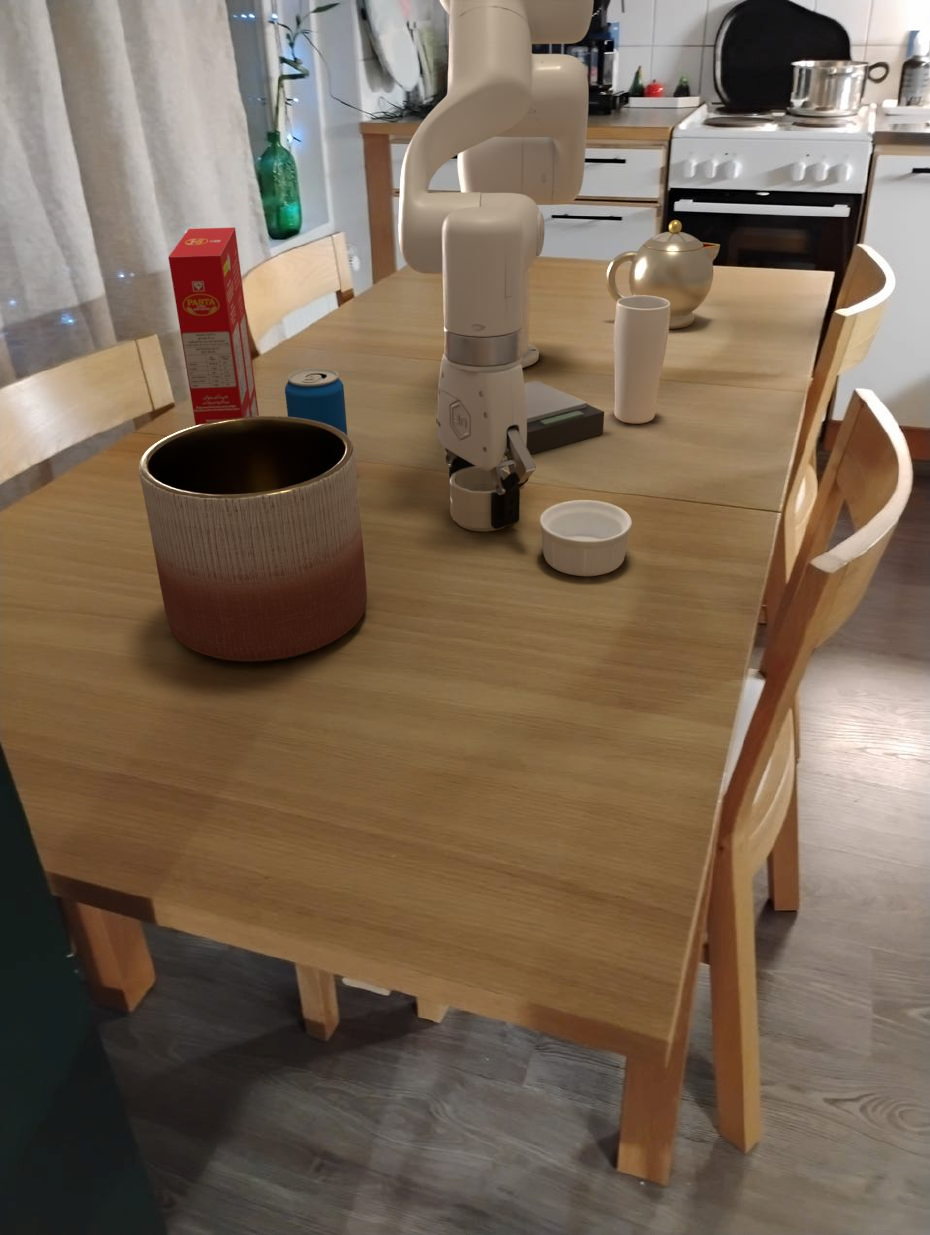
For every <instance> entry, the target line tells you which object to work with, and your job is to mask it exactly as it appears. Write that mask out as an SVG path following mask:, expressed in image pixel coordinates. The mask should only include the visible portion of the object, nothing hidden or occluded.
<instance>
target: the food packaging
mask: <svg viewBox="0 0 930 1235" xmlns="http://www.w3.org/2000/svg"><path fill="white" fill-rule="evenodd" d="M167 259H168V263H169V270H170V276H171V282H172V289H173V296H174V300H175V308H176V313H177V320H178V325H179V333H180V339H181V344H182V352H183V356H184V362H185V369H186V375H187V380H188V381H187V382H188V386H189V387H188V389H189V394H190V400H191V405H192V413H193V420H194V426H198V425H201V424H205V423H210V422H214V421H220V420H225V419H232V418H241V417H253V416H260V415H259V414H260V413H259V406H258V397H257V391H256V390H257V389H256V382H255V376H254V367H253V359H252V358H253V357H252V351H251V343H250V335H249V327H248V320H247V319H248V318H247V310H246V303H245V294H244V288H243V278H242V270H241V263H240V256H239V248H238V239H237V232H236V227H208V228H207V227H206V228H188V229H187V231H186V232H185V233H184V235H183V236H182V237H181V239H180V240H179V242H178V243H177V244H176V246H175V247H174V249H173V250H172V251H171V253H170V254H169V255H168V258H167Z"/></svg>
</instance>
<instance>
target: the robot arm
mask: <svg viewBox="0 0 930 1235" xmlns="http://www.w3.org/2000/svg"><path fill="white" fill-rule="evenodd" d="M438 1H439V3H440V4H441V6H442V8H443V9H444V11H445V12H446V13H447V14H448V15H449V20H448V22H449V23H448V24H449V25H448V68H447V92H446V95H445V97H444V98H442V100H440V102H438V103H437V104H436V105H435V107H434V108H433V109H432V110H431V111H430V112H429V113H428V114H427V115H426V116H425V118H424V119H423V120H422V122H421V123H420V124H419V126H418V127H417V129H416V131H415V132H414V134H413V136H412V137H411V139H410V141H409V143H408V146H407V148H406V150H405V154H404V156H403V160H402V164H401V171H400V179H399V180H400V181H399V199H398V200H399V201H398V203H399V204H398V226H397V227H398V244H399V249H400V253H401V256H402V258H403V261H404V262H405V264H406V265H407V267H409V268H410V269H411V270H413V271H414V272H418V273H421V274H427V275H428V274H429V275H430V274H431V275H442V302H443V303H442V304H443V308H442V309H443V336H444V337H443V346H444V352H443V354H442V358H441V362H440V369H439V376H438V388H437V411H436V412H437V414H436V415H437V416H436V417H437V418H436V420H435V421H436V426H437V428H436V429H437V431H436V432H437V440H438V442H439V444H441V446H442V447H443V448H444V449H445V452H446V454H445V462H446V464H447V465H448V466H449V467H448V487H449V488H448V491H449V492H448V493H449V494H448V496H449V497H450V478H451V476H452V474H454V473H455V472H457V471H458V470H460V469H464V468H468V467H473V466H477V467H479V468H481V469H483V470H490V472H491V476H492V479H493V483H494V487H495V490H496V491H495V492H492V493H491V526H492V527H493V528H495V529H499V528H502V527H504V528H506V527H508V526H511V525H514V524H517V523H518V522H519V521H520V509H521V508H520V506H521V505H520V504H521V502H520V501H521V500H520V499H521V490H523V489H524V487H525V484H526V483H527V482H528V481H529V478H530V477H531V476H532V475H533V474H534V472H535V471H536V469H537V465H536V462H535V460H534V458H533V457H532V454H531V455H530V453H529V451H528V449H527V447H526V443H527V414H526V397H525V386H524V383H525V379H524V373H523V369H524V368H527V367H530V366H531V365H534V364H535V363H536V362H538V360H539V357H540V351H539V349H538V348H537V347H536V346H534V345H533V344H531V343H530V309H531V308H530V304H531V303H530V302H531V268H532V266H533V265H534V263H535V261H537V258H538V257H540V255H541V254H542V251H543V248H544V242H545V234H546V233H545V219H544V218H545V217H544V214H543V212H542V211H541V210H540V207H539V206H561V205H566V204H570V203H572V202H574V201H575V200H576V199H577V198H578V196H579V194H580V192H581V190H582V186H583V182H584V175H585V164H586V163H585V162H586V150H587V149H586V148H587V135H588V134H587V132H588V120H589V119H588V118H589V97H590V96H589V94H590V93H589V79H588V74H587V71H586V67H585V66H584V64H583V62H582V61H581V60H580V59H579V58H577V57H576V56H574V55H570V54H565V53H564V54H563V53H532V52H533V45H549V44H550V45H553V44H554V45H560V44H561V45H562V44H563V45H564V44H565V45H566V44H567V45H569V44H576V43H578V42H581V41H582V40H583V39H584V38H585V37H586V35H587V33H588V31H589V29H590V25H591V21H592V17H593V12H594V2H595V1H594V0H438ZM456 156H457V161H456V162H457V176H458V181H459V188H460V192H459V191H458V192H429V188H430V184H431V181H432V180H433V178H434V176H435V175H436V173H437V172H438V171H439V170H440V168H441V167H443V165H445V164H446V163H447V162H448V161H450V160H451V159H453V158H454V157H456ZM504 457H506V460H505V459H504V460H503V458H504ZM506 467H508V470H509V472H510V474H509V475H508V476H507V477H506V478H505V479H503V476H502V472H501V469H500V468H506ZM505 526H506V527H505ZM502 529H503V528H502ZM499 530H500V529H499Z"/></svg>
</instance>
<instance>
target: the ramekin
mask: <svg viewBox="0 0 930 1235" xmlns="http://www.w3.org/2000/svg"><path fill="white" fill-rule="evenodd" d="M632 524H633V519H632V518H631V516H630V515H629V513H628V512H627V511H626V510H625V509H623V508H621V507H620V506H617V505H614V504H612V503H610V502H605V501H601V500H594V499H593V500H592V499H576V500H568V501H563V502H559V503H556V504H553V505H551V506H549V507H548V508H546V509H544V510H543V512H542V513H541V514H540V517H539V526H540V529H541V537H542V538H541V539H542V552H543V557H544V559H545V562H546V563H547V564H548V565H549V566H550V567H552V569H555V570H556V571H558V572H561V573H562V574H567V575H569V576H574V577H575V576H577V577H597V576H602V575H606V574H609V573H611V572H613V571H616V569H618V568H619V567H621V565H622V564H623V562H624V560H625V556H626V550H627V545H628V538H629V534H630V532H631V530H632Z"/></svg>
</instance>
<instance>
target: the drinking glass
mask: <svg viewBox="0 0 930 1235" xmlns="http://www.w3.org/2000/svg"><path fill="white" fill-rule="evenodd" d="M615 302H616V301H615ZM670 305H671V304H670V302H669V301H668V300H666V299H664V298H660V297H655V296H644V295H637V296H632V295H628V296H627V295H626V297H623V298H620V299H619V300H618V301H617V302H616V304H615V313H614V322H613V323H614V324H613V367H614V371H613V373H614V376H613V377H614V405H613V406H614V407H613V414H614V417H615V418H616V419H617V420H618V421H620V422H623V423H625V424H633V425H636V424H639V425H640V424H645V423H649V422H652V421H653V419H654V418H655V416H656V411H657V402H658V395H659V390H660V389H659V388H660V383H661V378H662V372H663V366H664V361H665V357H666V351H667V345H668V340H669V333H670V332H669V331H670V329H669V323H670Z"/></svg>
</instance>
